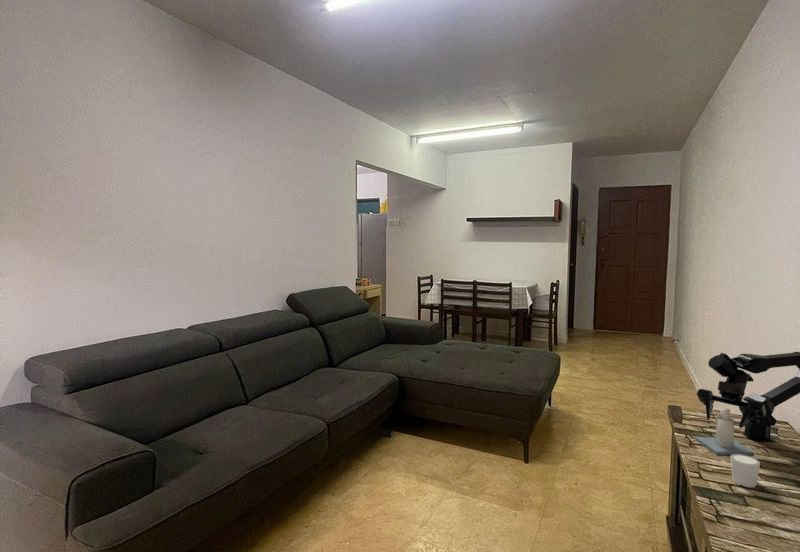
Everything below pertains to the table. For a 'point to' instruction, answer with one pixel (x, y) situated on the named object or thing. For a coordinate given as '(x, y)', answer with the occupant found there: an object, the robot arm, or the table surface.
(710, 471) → the table surface
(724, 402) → the robot arm
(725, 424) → the cream bottle
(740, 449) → the slate board
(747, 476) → the shot glass
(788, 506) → the table surface
